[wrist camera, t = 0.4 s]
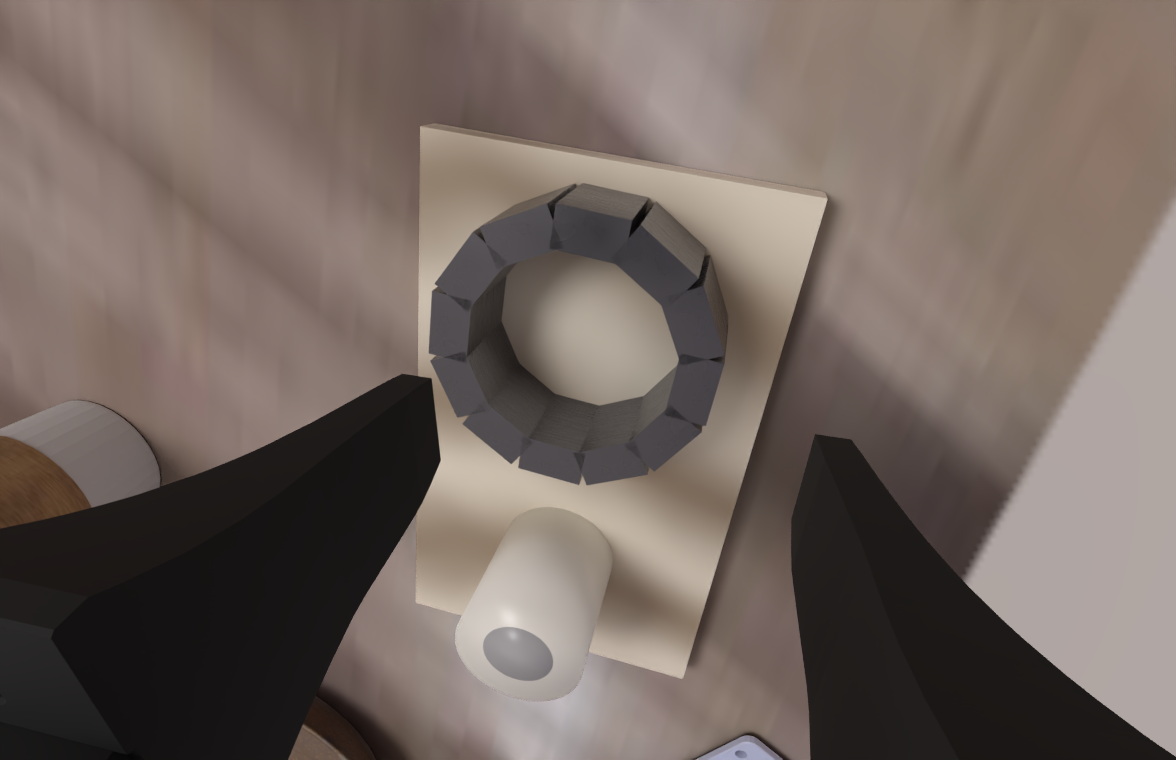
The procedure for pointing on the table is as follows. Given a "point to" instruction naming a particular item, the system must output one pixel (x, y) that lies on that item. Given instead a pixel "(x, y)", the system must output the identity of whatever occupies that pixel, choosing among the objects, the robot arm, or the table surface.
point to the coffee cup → (71, 462)
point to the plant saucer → (328, 737)
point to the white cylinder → (537, 606)
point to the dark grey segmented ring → (524, 404)
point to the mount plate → (607, 376)
